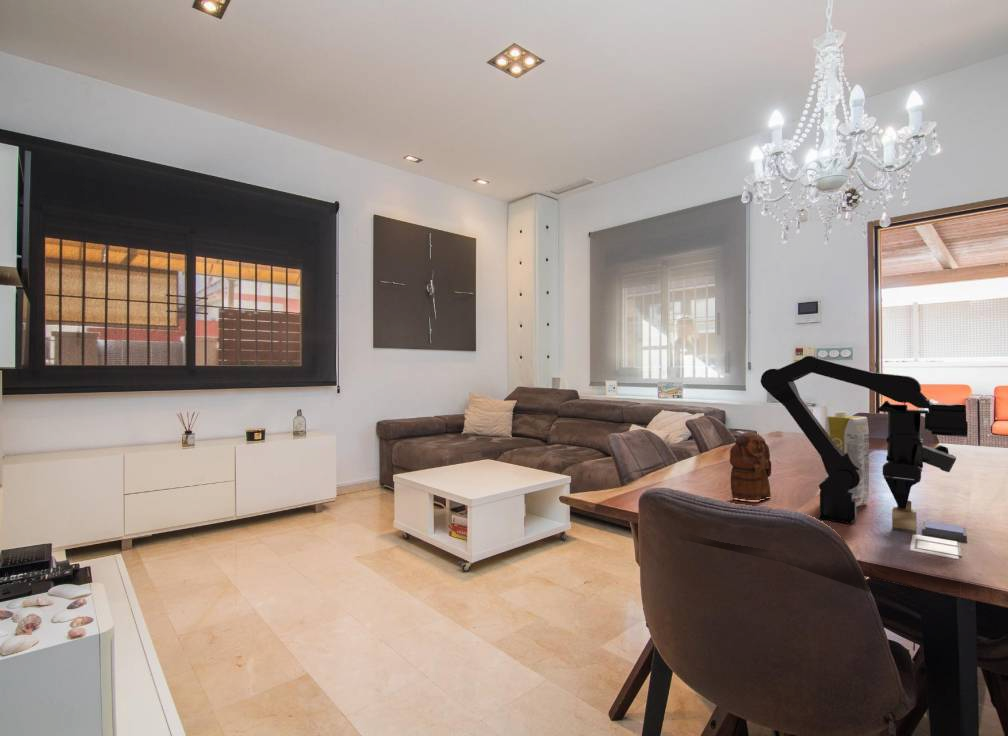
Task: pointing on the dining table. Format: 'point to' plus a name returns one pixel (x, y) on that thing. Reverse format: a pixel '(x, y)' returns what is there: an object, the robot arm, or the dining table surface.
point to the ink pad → (944, 530)
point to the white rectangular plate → (935, 546)
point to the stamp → (904, 519)
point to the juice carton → (852, 446)
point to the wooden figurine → (750, 467)
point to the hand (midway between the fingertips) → (903, 504)
